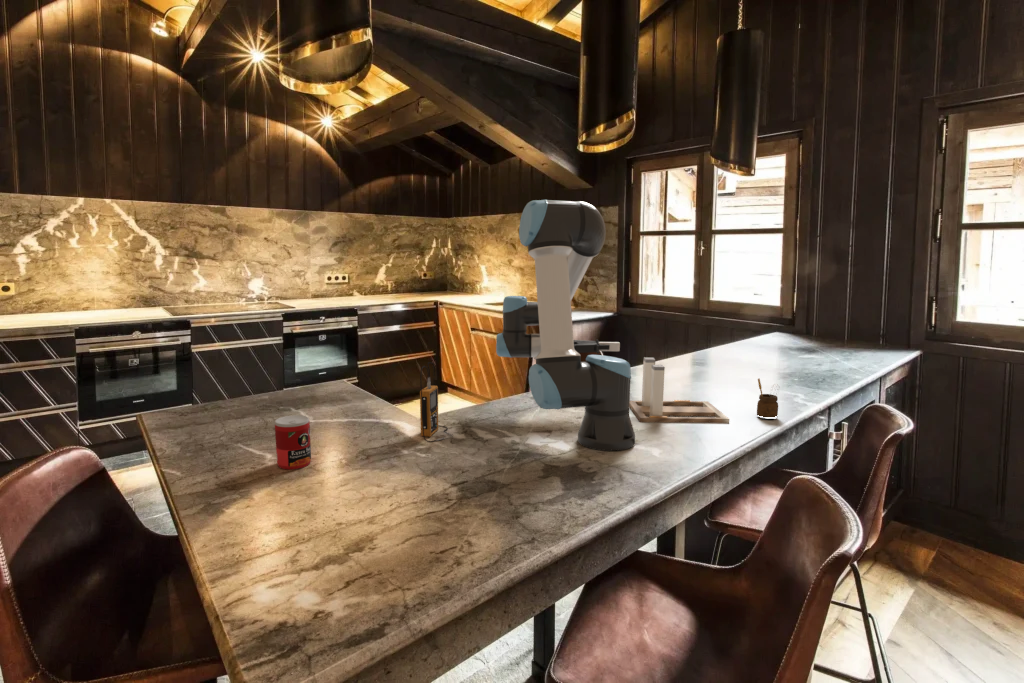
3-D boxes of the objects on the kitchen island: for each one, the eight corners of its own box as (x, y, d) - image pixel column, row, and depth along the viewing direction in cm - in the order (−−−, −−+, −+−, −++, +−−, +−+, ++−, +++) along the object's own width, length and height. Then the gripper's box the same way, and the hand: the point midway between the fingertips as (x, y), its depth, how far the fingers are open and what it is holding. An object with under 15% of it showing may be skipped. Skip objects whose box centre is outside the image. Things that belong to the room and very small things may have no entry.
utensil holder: (774, 421, 174) (777, 383, 172) (753, 418, 177) (755, 380, 176) (779, 417, 178) (782, 379, 176) (758, 413, 182) (760, 376, 180)
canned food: (291, 472, 132) (289, 426, 130) (269, 465, 136) (267, 420, 134) (318, 462, 138) (316, 418, 137) (297, 456, 143) (294, 413, 141)
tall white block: (643, 408, 183) (645, 359, 180) (641, 405, 186) (643, 357, 184) (653, 408, 183) (655, 359, 180) (650, 406, 186) (653, 357, 184)
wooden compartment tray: (639, 425, 169) (640, 416, 168) (627, 407, 189) (628, 399, 188) (728, 426, 168) (729, 417, 168) (707, 408, 188) (707, 400, 188)
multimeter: (451, 444, 152) (450, 370, 149) (415, 441, 154) (414, 368, 151) (466, 427, 166) (466, 360, 163) (433, 425, 168) (432, 358, 165)
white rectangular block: (652, 419, 171) (654, 366, 168) (649, 416, 174) (651, 364, 172) (662, 419, 171) (664, 367, 168) (659, 416, 174) (661, 364, 172)
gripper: (544, 353, 189) (615, 354, 189) (545, 361, 176) (622, 362, 176) (544, 331, 188) (616, 332, 188) (545, 337, 175) (623, 338, 175)
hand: (619, 346), depth 182 cm, fingers closed
